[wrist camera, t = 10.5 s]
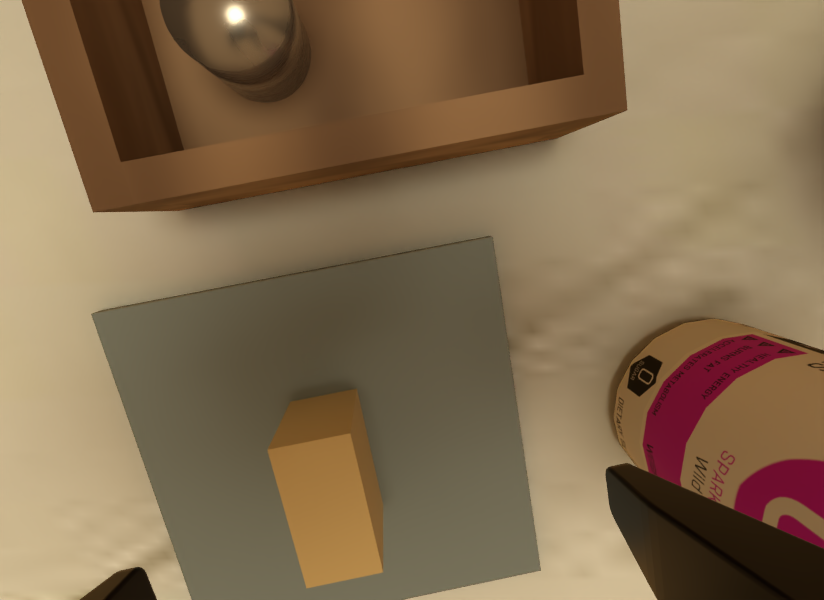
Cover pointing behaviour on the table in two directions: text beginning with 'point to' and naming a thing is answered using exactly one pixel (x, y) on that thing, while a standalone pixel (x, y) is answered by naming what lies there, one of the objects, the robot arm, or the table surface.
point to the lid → (333, 428)
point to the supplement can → (731, 420)
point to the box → (321, 93)
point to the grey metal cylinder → (244, 43)
